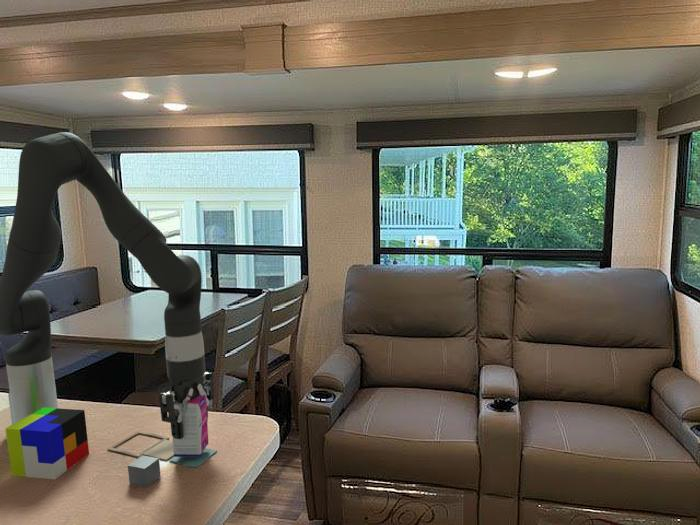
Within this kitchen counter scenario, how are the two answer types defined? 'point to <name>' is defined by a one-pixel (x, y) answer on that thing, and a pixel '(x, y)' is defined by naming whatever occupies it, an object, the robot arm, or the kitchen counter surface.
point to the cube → (144, 471)
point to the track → (165, 451)
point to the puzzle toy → (47, 442)
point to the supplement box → (192, 429)
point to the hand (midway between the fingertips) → (190, 429)
